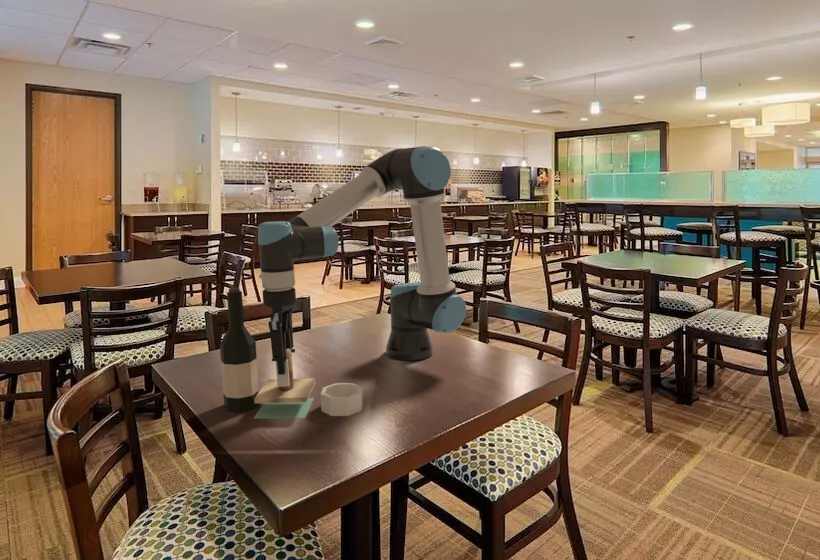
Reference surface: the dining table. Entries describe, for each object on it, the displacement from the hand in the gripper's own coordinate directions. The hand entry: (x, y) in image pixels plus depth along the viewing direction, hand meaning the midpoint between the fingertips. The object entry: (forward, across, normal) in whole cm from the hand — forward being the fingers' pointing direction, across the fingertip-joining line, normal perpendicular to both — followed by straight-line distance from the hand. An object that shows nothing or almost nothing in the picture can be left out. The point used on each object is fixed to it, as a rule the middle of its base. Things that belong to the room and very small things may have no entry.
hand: (285, 382), depth 130 cm
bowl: (+7, 0, +14) cm, 15 cm away
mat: (+7, 0, 0) cm, 7 cm away
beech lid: (+3, 0, 0) cm, 3 cm away
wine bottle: (+7, -1, -12) cm, 13 cm away
